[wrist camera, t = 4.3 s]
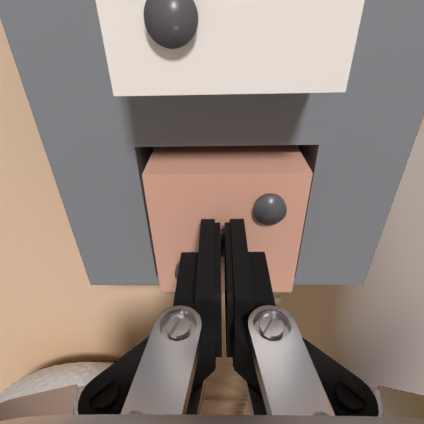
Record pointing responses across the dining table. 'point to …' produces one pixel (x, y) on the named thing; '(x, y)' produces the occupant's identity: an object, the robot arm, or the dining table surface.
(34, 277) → the dining table surface
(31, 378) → the cereal bowl
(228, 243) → the robot arm
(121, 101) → the grey flat board
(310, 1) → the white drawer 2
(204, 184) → the pink block
